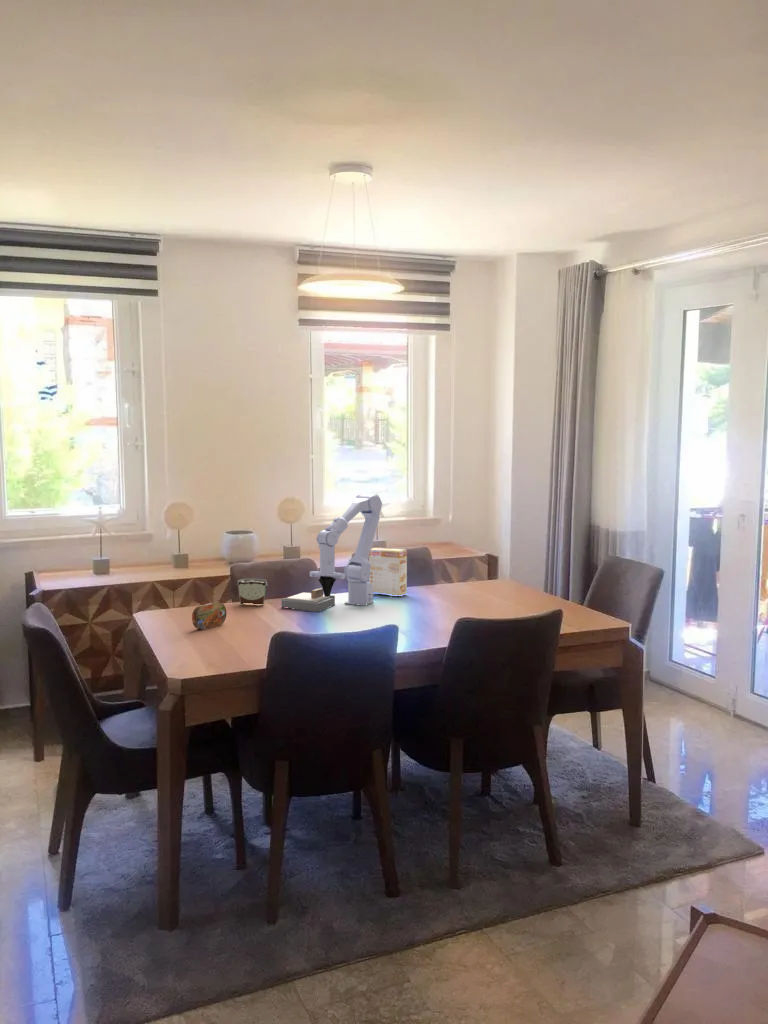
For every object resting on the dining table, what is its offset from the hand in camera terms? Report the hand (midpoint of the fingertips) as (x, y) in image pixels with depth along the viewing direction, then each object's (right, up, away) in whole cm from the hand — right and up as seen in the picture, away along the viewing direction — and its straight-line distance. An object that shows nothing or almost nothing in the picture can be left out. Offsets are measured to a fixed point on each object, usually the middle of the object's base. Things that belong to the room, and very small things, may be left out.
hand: (327, 596), depth 335 cm
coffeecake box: (+24, -3, +31) cm, 39 cm away
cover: (-8, -1, +4) cm, 9 cm away
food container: (-30, -4, +9) cm, 31 cm away
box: (-8, -5, +4) cm, 10 cm away
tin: (-39, -8, -33) cm, 52 cm away
